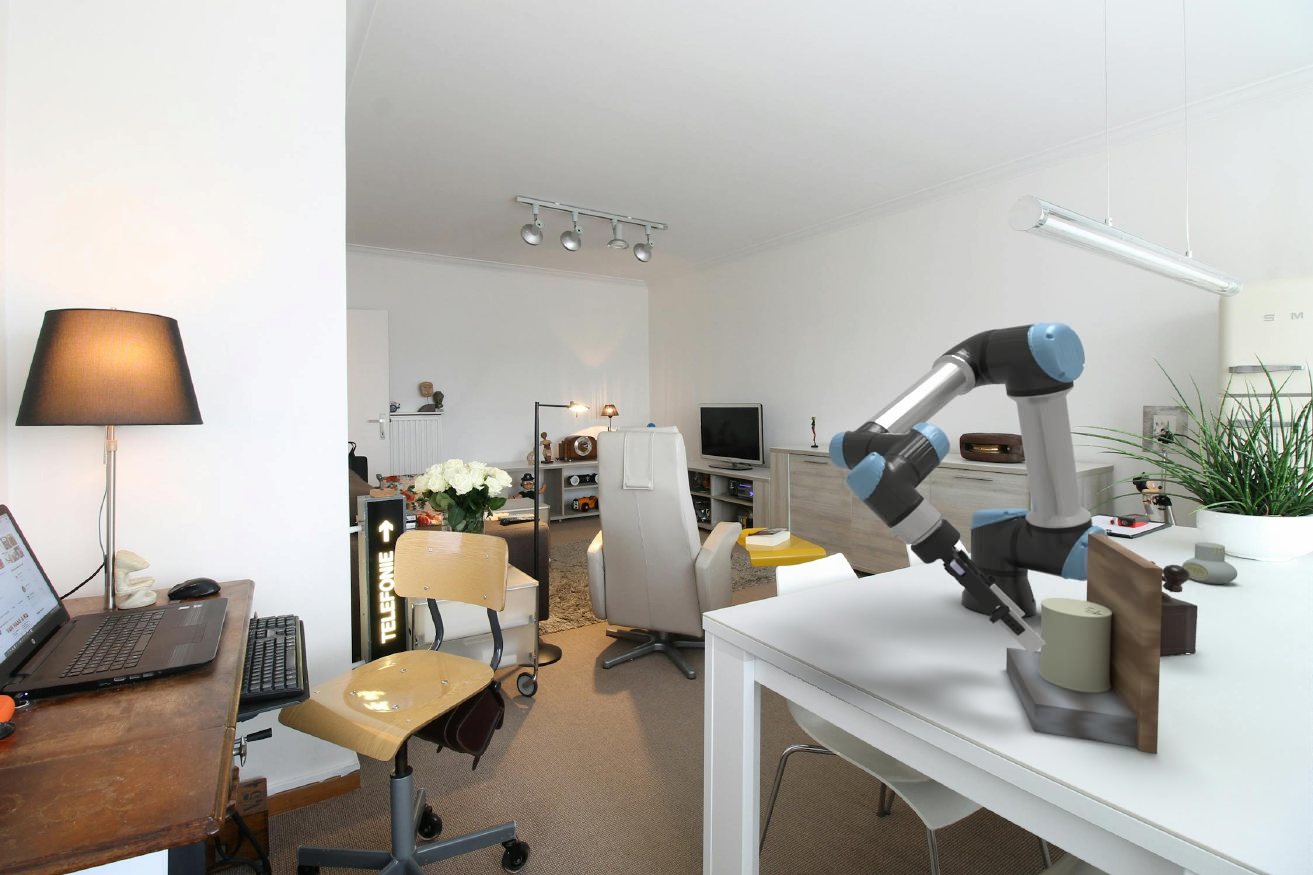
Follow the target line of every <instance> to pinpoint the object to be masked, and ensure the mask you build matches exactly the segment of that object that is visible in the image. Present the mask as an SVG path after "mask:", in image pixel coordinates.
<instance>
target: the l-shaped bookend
mask: <svg viewBox="0 0 1313 875" xmlns="http://www.w3.org/2000/svg"><path fill="white" fill-rule="evenodd" d="M1150 561H1151V560H1149V559H1146V558H1144V557H1143V556H1141V555H1139V554H1138V553H1136V552H1134V551H1132V550H1131V549H1129V548H1127V547H1125V546H1123V545H1122V544H1120V543H1118V542H1117V541H1115V540H1114V539H1112V538H1110V537H1106V536H1104V535H1103V534H1090V533H1088V559H1087V580H1086V601H1087V602H1091V603H1095V604H1098V605H1101V606H1104V607H1106V608H1108V609H1109V610H1111V612H1112V618H1111V638H1110V684H1111V688H1110V689H1109V690H1108V691H1106V692H1102V693H1085V692H1078V691H1073V690H1069V689H1065V688H1062V687H1059V686H1056V685H1054V684H1052V683H1050V682H1048V681H1046V680H1044V679H1043V678H1042V677H1041V676H1040V674H1039V670H1040V661H1041V650H1040V651H1039V650H1036V651H1035V652H1033V653H1032V654H1030V653H1029V652H1028V651H1027V650H1026V649H1021V648H1014V647H1013V648H1012V647H1006V673H1007V674H1008V677H1009V678H1010V680H1011V683H1012V685H1013V687H1014V690H1015V692H1016V694H1017V696H1018V698H1019V700H1020V702H1021V705H1022V706H1023V709H1024V711H1025V713H1026V716H1027V717H1028V719H1029V722H1030V724H1031V727H1032V728H1033V730H1034V732H1039V733H1045V734H1052V735H1057V736H1062V737H1063V736H1065V737H1070V738H1071V737H1072V738H1076V739H1077V738H1078V739H1085V740H1089V741H1090V740H1091V741H1097V742H1103V743H1109V744H1116V745H1123V746H1128V747H1129V746H1130V747H1134V748H1137V750H1138V751H1139V752H1144V753H1145V752H1146V753H1150V754H1151V753H1152V754H1158V744H1159V743H1158V737H1159V736H1158V735H1159V707H1160V706H1159V702H1160V699H1159V698H1160V668H1161V667H1160V666H1161V663H1160V662H1161V656H1160V640H1161V605H1162V592H1163V581H1162V575H1163V573H1162V571H1163V569H1164V568H1162V567H1160V566H1159V565H1157V564H1156V563H1155V564H1156V565H1155V564H1153V563H1152V562H1150Z"/></svg>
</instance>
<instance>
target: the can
mask: <svg viewBox="0 0 1313 875" xmlns="http://www.w3.org/2000/svg"><path fill="white" fill-rule="evenodd" d="M1040 606H1041V609H1040V610H1041V614H1040V615H1041V617H1040V618H1041V619H1040V621H1041V624H1040V637H1041V638H1042V639H1043V640H1044V641H1045V643H1046V644H1044V645H1043V646H1042V647H1040V652H1041V661H1040V670H1039V674H1040V676H1041V677H1042V678H1043V679H1044V680H1046V681H1048V682H1050V683H1052V684H1054V685H1056V686H1059V687H1062V688H1065V689H1069V690H1073V691H1078V692H1085V693H1102V692H1106V691H1108V690H1109V689H1110V688H1111V684H1110V638H1111V618H1112V612H1111V610H1109V609H1108V608H1106V607H1104V606H1101V605H1098V604H1095V603H1091V602H1087V600H1081V599H1077V598H1075V599H1074V598H1067V597H1066V598H1065V597H1051V598H1044V599H1042V600H1041V601H1040Z"/></svg>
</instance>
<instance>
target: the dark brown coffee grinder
mask: <svg viewBox="0 0 1313 875" xmlns="http://www.w3.org/2000/svg"><path fill="white" fill-rule="evenodd" d="M1149 561H1150V562H1152V563H1153V564H1155V565H1157V564H1156V562H1154V561H1152V560H1149ZM1162 569H1163V571H1162V582H1164V583H1162V588H1163V589H1165V590H1167V591H1169V593H1182V592H1183V586H1182V585H1183V584H1184V583H1186V582H1187V581H1189V580H1190V579H1191V578H1190V574H1189V572H1188V571H1187V570H1186V569H1185V568H1183V567H1182V565H1179V564H1169V565H1166V566H1165V567H1164V568H1162ZM1198 609H1199V608H1198V605H1196V604H1194V603H1190V602H1188V601H1185V600H1181V599H1177V598H1175V597H1172V596H1171V595H1169V594H1168V593H1166V592H1164V591H1162V605H1161V640H1160V657H1166V656H1165V655H1174V656H1182V655H1181V654H1186V653H1193V654H1195V653H1197V652H1196V651H1197V650H1196V644H1197V627H1198V625H1197V624H1198ZM1194 652H1195V653H1194Z"/></svg>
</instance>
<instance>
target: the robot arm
mask: <svg viewBox="0 0 1313 875" xmlns="http://www.w3.org/2000/svg"><path fill="white" fill-rule="evenodd" d="M1083 346H1084V345H1083V343H1082V341H1081V339H1080V336H1079V334H1077V333H1076V331H1075V330H1074V329H1072V328H1071V326H1069V325H1067V324H1065V323H1062V322H1045V323H1044V322H1039V323H1032V324H1025V325H1019V326H1018V325H1017V326H1011V327H1003V328H998V329H997V328H996V329H995V328H994V329H988V330H985V331H981V332H978V333H976V334H974V335H972V336H970V337H968V338H965V340H963V341H961V342H959V343H958V344H956V345H954V346H953V347H952V348H950V349H948V350H947V351H945V353H943V354H942V355H941V356H939V357H938V358H937V359H936V360H934V362H933V363H932V368H931V370H929V371H927V372H926V373H925V374H924V375H923V376H922V377H921V378H920V379H918V380H917V381H915V382H914V383H913V384H911V386H909V387H908V388H907V389H906V390H904V391H903V392H902V393H901V394H899V396H897V397H896V398H894V399H892V401H890V403H888V404H886V406H884V407H883V408H882V409H881V410H879V411H878V412H877V413H876V414H875V415H873V416H872V417H871V418H869V419H868V420H867V421H866V422H865V423H863V424H862V425H861V426H859V427H858V428H857V429H855V430H853V431H851V430H846V431H840V432H837V433H836V434H834V436H832V438H831V440H830V442H829V444H828V445H829V446H828V454H829V455H828V456H829V457H830V460H831V462H832V463H833V464H834V466H836V468H840V469H844V470H845V469H846V470H848V471H849V472H848V473H847V475H846V477H845V483H846V485H847V486H848V487H849V489H850V490H851V491H852V493H854V494H855V495H856V496H857V498H858V499H859V500H860V501H861V502H863V504H865V506H866V507H868V508H869V509H870V510H871V511H872V513H874V514H875V515H876V516H877V517H878V518H879V519H880V520H881V521H882V522H883V523H884V524H885V525H886V526H887V527H888V528H890V530H891V531H893V532H892V533H891V536H892V537H893V538H897V537H899V539H900V540H901V541H902V542H903V543H904V544H905V545H909V546H910V551H911V552H913V554H914V555H916V556H917V557H918V558H919V560H920V561H922V563H924V564H927V565H929V564H933V563H935V562H936V561H937V560H942V562H943V563H942V566H943V567H944V570H945V571H946V572H947V574H949V575H950V576H951V577H953V578H954V580H956V581H957V583H958V584H959V585H961V586H962V587H963V588H964V589H963V590H962V593H961V604H962V605H963V606H964V607H966V608H967V609H969V610H972V611H975V612H977V613H982V614H985V615H989V616H990V617H989V618H988V620H989V621H990V622H991V623H992V624H995V623H997V622H998V623H999V624H1000V625H1001V626H1002V627H1003V629H1004V630H1006V631H1007V632H1008V633H1009V635H1011V636H1012V637H1013V638H1014V639H1015V640H1016V641H1017V643H1019V644H1020V645H1021V646H1022V647H1023V648H1024V650H1027V651H1028V652H1029V653H1030V654H1032V653H1033V652H1035V651H1038V650H1039V649H1041V647H1042V646H1043V645H1044V644H1046V643H1045V641H1044V640H1043V639H1042V638H1041V635H1039V634H1038V633H1036V631H1034V629H1032V628H1031V626H1029V624H1028V623H1026V622H1025V621H1024V620H1023V619H1022V618H1028V617H1032V616H1034V615H1036V614H1037V601H1036V599H1035V596H1034V593H1033V589H1032V587H1031V583H1030V580H1029V576H1028V575H1029V574H1028V573H1029V571H1032V572H1038V573H1041V574H1046V575H1051V576H1055V577H1059V578H1063V579H1064V580H1074V581H1080V582H1081V581H1082V582H1085V581H1086V582H1087V559H1088V533H1090V534H1103V535H1104V536H1106V537H1108V533H1107V531H1106V530H1105V529H1104V528H1102V527H1100V526H1098V525H1093V521H1092V514H1091V512H1090V511H1089V510H1088V509H1085V508H1084V507H1083V506H1082V505H1081V504H1082V503H1081V498H1080V490H1079V488H1080V487H1079V482H1078V474H1077V467H1076V460H1075V453H1074V445H1073V438H1072V437H1073V436H1072V432H1071V431H1072V430H1071V424H1070V422H1071V421H1070V417H1069V416H1070V415H1069V409H1068V407H1069V406H1068V401H1067V395H1068V394H1069V393H1070V392H1071V391H1072V390H1073V389H1074V387H1075V385H1074V384H1075V383H1074V381H1075V380H1077V379H1078V378H1080V377H1081V375H1082V374H1083V372H1084V369H1085V367H1084V364H1085V359H1086V358H1085V356H1086V355H1085V350H1084V347H1083ZM991 385H1004V386H1005V390H1006V391H1005V392H1006V396H1007V397H1008V398H1010V399H1011V400H1013V401H1014V402H1015V403H1016V407H1017V408H1016V409H1017V414H1018V421H1019V428H1020V435H1021V441H1022V447H1023V448H1022V449H1023V455H1024V461H1025V468H1026V475H1027V481H1028V489H1029V493H1030V500H1031V502H1030V503H1031V510H1029V509H1027V508H1021V507H1017V508H1016V507H1013V508H1012V507H1011V508H1010V507H1009V508H1007V507H1005V508H1004V507H1003V508H988V509H985V508H984V509H979V510H976V511H975V512H974V513H973V514H972V516H971V523H970V524H971V525H970V528H969V529H970V557H969V555H968V554H967V553H966V552H965V551H964V550H963V549H958V548H957V547H956V545H957V544H958V542H959V541H960V539H961V533H960V532H959V531H958V530H957V529H956V528H955V527H954V526H953V525H952V524H951V522H949V521H948V520H947V519H946V518H945V519H944V518H942V514H941V513H940V511H938V510H937V508H935V507H934V506H933V505H932V504H931V503H930V501H928V500H927V499H926V498H925V497H923V495H921V494H920V492H918V490H917V489H916V488H918V486H919V485H920V484H921V483H922V482H923V481H924V480H925V479H926V478H927V477H928V476H929V475H930V474H932V472H933V471H934V470H935V469H936V468H937V467H939V466H940V465H941V462H942V461H943V460H944V459H945V457H946V456H947V455H948V454H949V452H950V450H951V449H950V448H951V443H950V441H949V438H948V436H947V434H946V433H945V432H944V430H942V429H941V428H940V427H938V426H937V425H935V424H933V423H929V422H928V421H929V420H930V419H931V418H933V417H934V416H935V415H936V414H937V413H938V412H940V411H941V410H942V409H943V408H945V407H946V406H948V404H949V403H950V402H951V401H953V400H954V399H956V397H957V396H964V395H967V394H968V393H971V391H972V390H974V389H975V388H979V387H982V386H991ZM1108 538H1109V537H1108Z"/></svg>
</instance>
